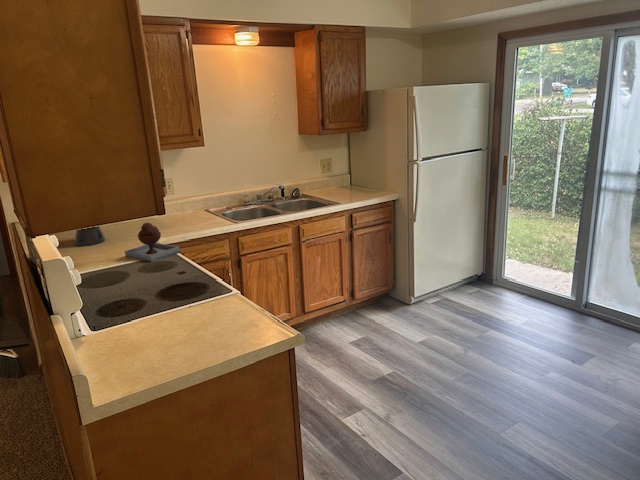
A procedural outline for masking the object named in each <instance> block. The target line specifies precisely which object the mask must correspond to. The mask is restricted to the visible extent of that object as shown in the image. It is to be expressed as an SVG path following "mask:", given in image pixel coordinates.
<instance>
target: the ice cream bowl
mask: <svg viewBox="0 0 640 480" xmlns="http://www.w3.org/2000/svg"><path fill="white" fill-rule="evenodd" d="M140 228H141V229H140V230H139V232H138V234H137V237H138V240H139V242H140V243H142V244H143V245H149V248H150V250H148V251H147V252H146V254H155V253H157V250H155V249H153V244H155V243H159V241H160V239H161V236H162V234H161V231H160V230H159V228H158V227H157V226H155V225H153V224H152V223H151V222H144V223H143V224H142V225H141V227H140Z"/></svg>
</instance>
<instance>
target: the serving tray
mask: <svg viewBox="0 0 640 480" xmlns="http://www.w3.org/2000/svg"><path fill="white" fill-rule="evenodd" d="M153 249H155V250H157V253H155V254H146V252H147V251H148V250H150V248H149V245H145V244H143V245H141V246H136V247H134V248H131V249H128V250H125V251H124V254H125V256H124V257H125V258H129V259H133V260H139V261H144V262H147V263H148V262H149V263H153V262H157V261H159V260H163V259H165V258H167V257H171V256H174V255H177V254H179V253H181V250H180V246H178V245H172V244H165V243H159V242H156V243H155V244H153Z"/></svg>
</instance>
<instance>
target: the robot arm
mask: <svg viewBox="0 0 640 480" xmlns="http://www.w3.org/2000/svg"><path fill="white" fill-rule="evenodd" d="M75 231H76V232H75V238H74V244H75V246H76V247H77V246H78V247H86V246H87V247H88V246H93V245H99V244H101V243H103V242H105V241H106V238H105V235H104V233H103V232H102V230H101V228H100V225H99V226H98V227H92V228H87V229H81V230H75Z"/></svg>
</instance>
